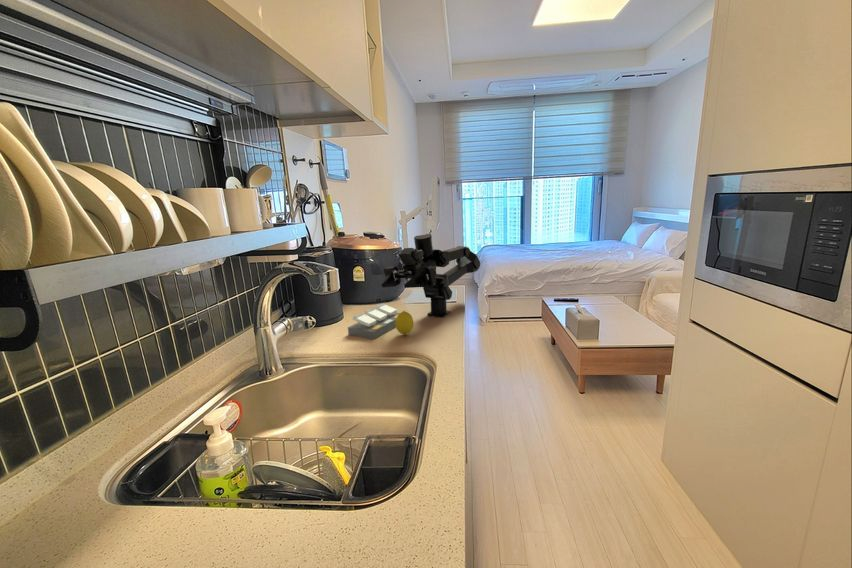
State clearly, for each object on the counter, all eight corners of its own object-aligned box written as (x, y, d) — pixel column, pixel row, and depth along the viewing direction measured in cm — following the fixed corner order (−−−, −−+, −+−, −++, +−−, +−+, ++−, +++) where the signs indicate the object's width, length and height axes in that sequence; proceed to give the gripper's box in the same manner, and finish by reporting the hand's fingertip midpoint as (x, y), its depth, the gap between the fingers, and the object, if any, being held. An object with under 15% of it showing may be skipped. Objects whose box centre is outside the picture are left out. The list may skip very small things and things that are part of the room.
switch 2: (381, 305, 130) (382, 303, 129) (396, 312, 127) (397, 309, 127) (375, 309, 126) (375, 306, 126) (390, 315, 124) (390, 312, 123)
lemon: (393, 337, 112) (392, 313, 111) (400, 331, 118) (399, 307, 116) (410, 339, 111) (409, 314, 109) (416, 333, 116) (415, 309, 114)
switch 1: (360, 315, 119) (361, 312, 119) (376, 322, 117) (376, 319, 116) (352, 319, 116) (353, 316, 116) (368, 326, 113) (368, 323, 113)
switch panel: (383, 317, 132) (382, 307, 131) (406, 320, 128) (405, 310, 127) (348, 334, 116) (347, 323, 115) (373, 339, 111) (372, 328, 111)
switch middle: (371, 310, 124) (372, 307, 124) (386, 317, 122) (387, 314, 121) (364, 314, 121) (364, 310, 121) (379, 320, 118) (380, 317, 118)
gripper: (394, 246, 125) (364, 261, 113) (439, 243, 114) (411, 260, 102) (402, 276, 128) (373, 294, 116) (447, 276, 117) (419, 296, 105)
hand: (393, 286), depth 110 cm, fingers open, 9 cm apart
